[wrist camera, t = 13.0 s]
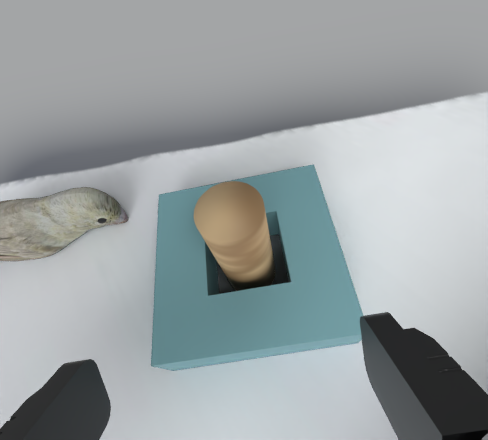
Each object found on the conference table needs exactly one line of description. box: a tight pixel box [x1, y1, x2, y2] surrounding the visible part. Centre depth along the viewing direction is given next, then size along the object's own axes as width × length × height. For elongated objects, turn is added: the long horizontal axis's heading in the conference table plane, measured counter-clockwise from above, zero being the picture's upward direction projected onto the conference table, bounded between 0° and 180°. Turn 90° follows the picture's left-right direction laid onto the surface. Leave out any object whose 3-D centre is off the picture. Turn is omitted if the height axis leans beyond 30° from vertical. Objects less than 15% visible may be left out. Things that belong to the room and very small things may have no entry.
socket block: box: [151, 165, 363, 371], centre depth 24 cm, size 14×14×4 cm
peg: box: [194, 181, 276, 291], centre depth 21 cm, size 4×4×10 cm
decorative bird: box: [0, 187, 128, 261], centre depth 28 cm, size 5×16×7 cm, turn 106°
